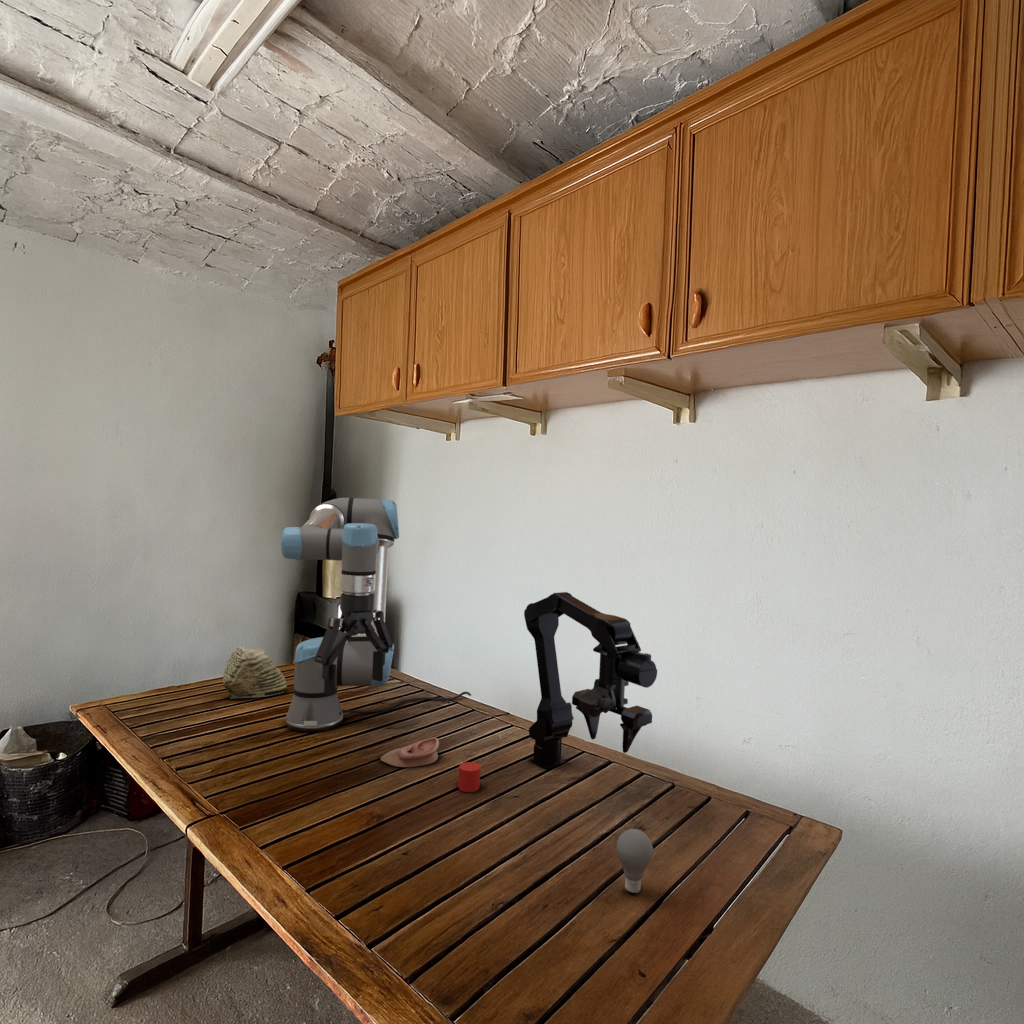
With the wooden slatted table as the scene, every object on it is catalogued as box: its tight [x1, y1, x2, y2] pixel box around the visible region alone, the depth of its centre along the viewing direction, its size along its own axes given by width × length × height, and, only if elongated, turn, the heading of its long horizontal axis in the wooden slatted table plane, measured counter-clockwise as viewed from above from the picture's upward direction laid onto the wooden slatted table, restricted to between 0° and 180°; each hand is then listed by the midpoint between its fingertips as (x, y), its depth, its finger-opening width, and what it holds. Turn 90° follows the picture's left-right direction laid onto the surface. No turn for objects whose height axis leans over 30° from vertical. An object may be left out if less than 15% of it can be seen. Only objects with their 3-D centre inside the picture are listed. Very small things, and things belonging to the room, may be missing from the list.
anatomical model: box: [379, 737, 440, 768], centre depth 155 cm, size 13×4×12 cm
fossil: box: [222, 646, 288, 699], centre depth 198 cm, size 9×18×15 cm, turn 132°
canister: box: [457, 761, 481, 793], centre depth 141 cm, size 5×5×5 cm
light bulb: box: [615, 828, 654, 894], centre depth 106 cm, size 6×6×10 cm
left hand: (354, 686), depth 142 cm, fingers open, 13 cm apart
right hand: (608, 745), depth 140 cm, fingers open, 9 cm apart
